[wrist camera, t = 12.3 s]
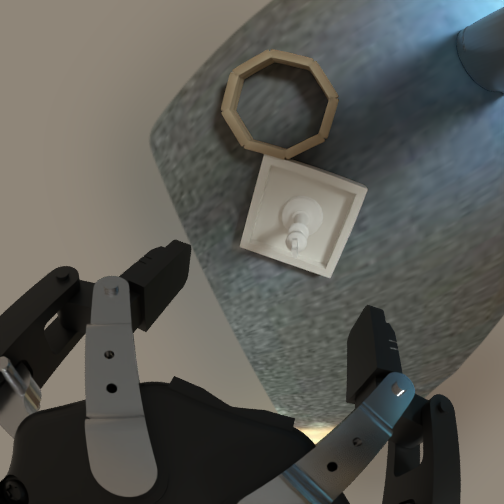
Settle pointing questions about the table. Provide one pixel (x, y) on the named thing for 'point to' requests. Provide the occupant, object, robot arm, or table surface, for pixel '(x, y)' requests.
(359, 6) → the table surface
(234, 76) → the holder ring
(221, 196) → the table surface
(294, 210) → the chess piece
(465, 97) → the table surface
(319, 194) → the tray
